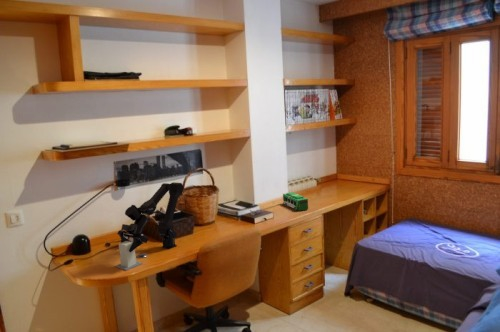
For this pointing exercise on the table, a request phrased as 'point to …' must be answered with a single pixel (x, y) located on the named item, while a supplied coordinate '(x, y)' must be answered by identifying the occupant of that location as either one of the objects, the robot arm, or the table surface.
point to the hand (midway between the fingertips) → (124, 250)
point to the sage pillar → (127, 254)
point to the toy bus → (295, 201)
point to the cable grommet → (142, 255)
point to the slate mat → (128, 267)
